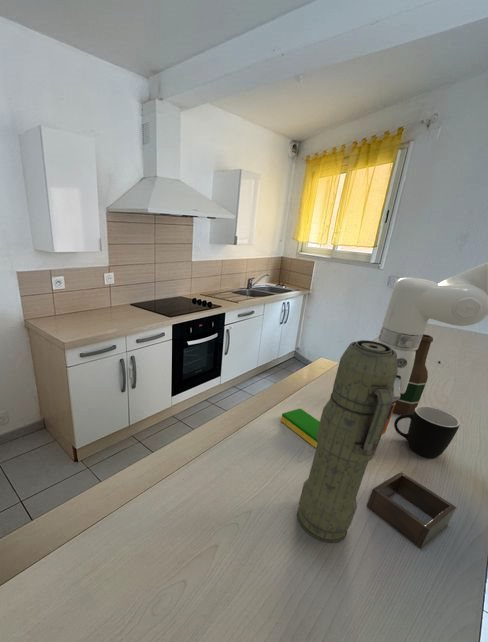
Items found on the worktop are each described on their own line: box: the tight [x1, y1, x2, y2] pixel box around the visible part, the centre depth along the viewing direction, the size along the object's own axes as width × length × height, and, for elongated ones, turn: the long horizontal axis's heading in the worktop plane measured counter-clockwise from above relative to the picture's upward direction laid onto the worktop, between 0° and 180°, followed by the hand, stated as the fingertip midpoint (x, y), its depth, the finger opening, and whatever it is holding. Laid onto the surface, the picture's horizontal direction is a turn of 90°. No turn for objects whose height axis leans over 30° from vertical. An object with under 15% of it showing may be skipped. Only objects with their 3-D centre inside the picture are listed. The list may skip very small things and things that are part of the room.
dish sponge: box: [280, 408, 320, 449], centre depth 85 cm, size 7×14×2 cm, turn 28°
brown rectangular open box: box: [366, 471, 457, 549], centre depth 61 cm, size 10×10×4 cm
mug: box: [393, 405, 461, 459], centre depth 80 cm, size 12×9×10 cm
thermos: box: [296, 339, 398, 544], centre depth 53 cm, size 9×12×35 cm
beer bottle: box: [392, 333, 434, 416], centre depth 94 cm, size 8×8×24 cm
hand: (375, 408), depth 75 cm, fingers closed on cup, 6 cm apart
